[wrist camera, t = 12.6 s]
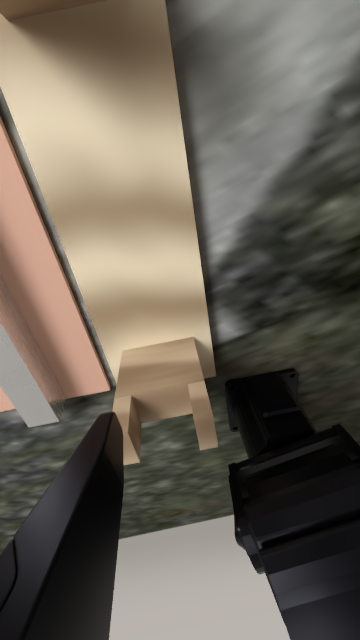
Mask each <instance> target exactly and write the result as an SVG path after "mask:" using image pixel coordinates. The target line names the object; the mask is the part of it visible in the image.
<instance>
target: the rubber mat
mask: <svg viewBox="0 0 360 640" xmlns="http://www.w3.org/2000/svg"><path fill="white" fill-rule="evenodd" d="M0 273H1V275H2V277H3V279H4V280H5V282H6V284H7V286H8V288H9V290H10V292H11V293H12V295H13V297H14V299H15V301H16V303H17V305H18V307H19V308H20V310H21V312H22V314H23V316H24V318H25V320H26V322H27V323H28V325H29V327H30V329H31V331H32V333H33V335H34V337H35V338H36V340H37V342H38V344H39V346H40V348H41V350H42V351H43V353H44V355H45V357H46V359H47V361H48V363H49V365H50V366H51V368H52V370H53V372H54V374H55V376H56V378H57V380H58V381H59V383H60V385H61V387H62V389H63V391H64V393H65V394H66V396H67V399H68V398H73V397H78V396H83V395H88V394H93V393H99V392H104V391H109V390H110V389H111V386H110V384H109V381H108V379H107V376H106V374H105V371H104V369H103V367H102V364H101V362H100V359H99V357H98V354H97V352H96V349H95V347H94V344H93V342H92V340H91V337H90V335H89V332H88V330H87V327H86V325H85V322H84V320H83V318H82V315H81V313H80V310H79V308H78V305H77V303H76V300H75V298H74V295H73V293H72V291H71V288H70V286H69V283H68V281H67V278H66V276H65V273H64V271H63V268H62V266H61V264H60V261H59V259H58V256H57V254H56V251H55V249H54V246H53V244H52V242H51V239H50V237H49V234H48V232H47V229H46V227H45V224H44V222H43V219H42V217H41V215H40V212H39V210H38V207H37V205H36V202H35V200H34V197H33V195H32V192H31V190H30V188H29V185H28V183H27V180H26V178H25V175H24V173H23V170H22V168H21V165H20V163H19V161H18V158H17V156H16V153H15V151H14V148H13V146H12V143H11V141H10V139H9V136H8V134H7V131H6V129H5V126H4V124H3V121H2V119H1V116H0ZM12 409H16V408H15V407H14V405H13V404H12V402H11V401H10V399H9V398H8V397H7V395H6V394H5V392H4V391H3V389H2V388H1V386H0V412H2V411H7V410H12Z"/></svg>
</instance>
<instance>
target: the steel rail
mask: <svg viewBox="0 0 360 640" xmlns="http://www.w3.org/2000/svg"><path fill="white" fill-rule="evenodd" d="M0 386H1V388H2V389H3V391H4V392H5V394H6V395H7V397H8V398H9V399H10V401H11V402H12V404H13V405H14V407H15V408H16V410H17V411H18V413H19V414H20V415H21V417H22V418H23V420H24V421H25V423H26V424H27V426H28V427H33V426H38V425H43V424H48V423H54V422H59V421H60V418H61V415H62V412H63V410H64V407H65V404H66V401H67V396H66V394H65V393H64V391H63V389H62V387H61V385H60V383H59V381H58V380H57V378H56V376H55V374H54V372H53V370H52V368H51V366H50V365H49V363H48V361H47V359H46V357H45V355H44V353H43V351H42V350H41V348H40V346H39V344H38V342H37V340H36V338H35V337H34V335H33V333H32V331H31V329H30V327H29V325H28V323H27V322H26V320H25V318H24V316H23V314H22V312H21V310H20V308H19V307H18V305H17V303H16V301H15V299H14V297H13V295H12V293H11V292H10V290H9V288H8V286H7V284H6V282H5V280H4V279H3V277H2V275H1V273H0Z"/></svg>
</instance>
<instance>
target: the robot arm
mask: <svg viewBox="0 0 360 640" xmlns="http://www.w3.org/2000/svg"><path fill="white" fill-rule="evenodd" d="M291 374H292V375H291ZM297 384H298V373H297V371H296V370H295V369H287V370H281V371H276V372H271V373H266V374H261V375H256V376H251V377H246V378H241V379H235V380H230V381H227V382H226V383H225V393H226V401H227V410H228V418H229V426H230V429H231V431H232V432H237V431H240V434H241V437H242V440H243V443H244V446H245V449H246V452H247V455H248V458H249V459H247V460H244V461H241V462H239V463H232V464H229V465H228V466H229V472H230V475H229V483H230V489H231V495H232V502H233V508H234V520H235V538H236V541H237V543H238V545H239V546H241V547H242V548H243V549H245V550H246V552H247V554H248V556H249V558H250V560H251V562H252V564H253V566H254V568H255V570H256V571H257V573H259V574H262V573H266V576H267V578H268V581H269V584H270V586H271V589H272V592H273V594H274V597H275V600H276V602H277V605H278V608H279V610H280V612H281V616H282V618H283V621H284V623H285V625H286V627H287V630H288V633H289V636H290V639H291V640H360V446H359V445H358V443H357V442H356V441H355V440H354V439H353V438H352V437H351V436H350V435H349V434H348V432H347V431H346V430H345V429H344V428H343V427H342V426H341V425H340V424H336V425H334V426H332V428H330V429H327V430H324V431H322V432H319V433H317V431H316V429H315V428H314V426H313V425H312V423H311V421H310V420H309V418H308V417H307V415H306V414H305V412H304V410H303V409H302V407H301V406H300V404H299V402H298V401H297ZM230 386H231V387H230ZM123 487H124V465H123V430H122V427H121V425H120V422H119V420H118V418H117V415H116V413H115V412H114V411H111V412H106V413H102V414H100V415H99V416H98V418H97V419H96V421H95V422H94V424H93V425H92V426H91V428H90V429H89V431H88V432H87V433H86V435H85V436H84V438H83V439H82V440H81V442H80V443H79V445H78V446H77V448H76V449H75V450H74V452H73V453H72V455H71V456H70V457H69V459H68V460H67V462H66V463H65V464H64V466H63V467H62V469H61V470H60V472H59V473H58V474H57V476H56V477H55V479H54V480H53V481H52V483H51V484H50V486H49V487H48V488H47V490H46V491H45V493H44V494H43V496H42V497H41V498H40V500H39V501H38V503H37V504H36V505H35V507H34V508H33V510H32V511H31V512H30V514H29V515H28V517H27V518H26V520H25V521H24V522H23V524H22V525H21V527H20V528H19V529H18V531H17V532H16V534H15V535H14V539H12V540H11V541H10V542H9V543H8V545H7V546H6V548H5V549H4V550H3V552H2V553H1V555H0V640H109V631H110V621H111V611H112V601H113V590H114V581H115V571H116V560H117V551H118V540H119V530H120V520H121V510H122V500H123Z"/></svg>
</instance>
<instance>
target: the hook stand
mask: <svg viewBox="0 0 360 640" xmlns="http://www.w3.org/2000/svg"><path fill="white" fill-rule="evenodd" d="M0 87H1V89H2V92H3V94H4V97H5V99H6V102H7V104H8V107H9V110H10V112H11V115H12V117H13V120H14V122H15V125H16V128H17V130H18V133H19V135H20V138H21V140H22V143H23V145H24V148H25V151H26V153H27V156H28V158H29V161H30V163H31V166H32V169H33V171H34V174H35V176H36V179H37V181H38V184H39V186H40V189H41V192H42V194H43V197H44V199H45V202H46V204H47V207H48V209H49V212H50V215H51V217H52V220H53V222H54V225H55V227H56V230H57V233H58V235H59V238H60V240H61V243H62V245H63V248H64V250H65V253H66V256H67V258H68V261H69V263H70V266H71V268H72V271H73V274H74V276H75V279H76V281H77V284H78V286H79V289H80V291H81V294H82V297H83V299H84V302H85V304H86V307H87V309H88V312H89V315H90V317H91V320H92V322H93V325H94V327H95V330H96V332H97V335H98V338H99V340H100V343H101V345H102V348H103V350H104V353H105V356H106V358H107V361H108V363H109V366H110V368H111V371H112V373H113V376H114V379H115V381H116V384H117V386H116V392H115V399H114V405H113V411H114V412H115V413H116V415H117V418H118V420H119V422H120V425H121V427H122V430H123V465H128V464H133V463H138V462H140V445H141V423H146V422H151V421H156V420H161V419H166V418H171V417H176V416H182V415H187V414H192V413H193V418H194V423H195V428H196V433H197V437H198V442H199V446H200V450H204V449H210V448H215V447H218V443H217V437H216V430H215V424H214V418H213V413H212V409H211V405H210V401H209V397H208V393H207V389H206V385H205V381H204V378H209V377H214V376H216V370H215V363H214V356H213V348H212V341H211V334H210V326H209V319H208V312H207V304H206V297H205V290H204V282H203V275H202V268H201V260H200V253H199V246H198V238H197V231H196V224H195V216H194V209H193V202H192V194H191V187H190V180H189V172H188V165H187V158H186V150H185V143H184V136H183V128H182V121H181V114H180V106H179V99H178V92H177V84H176V77H175V69H174V62H173V55H172V47H171V40H170V33H169V25H168V18H167V11H166V3H165V0H0Z"/></svg>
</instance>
